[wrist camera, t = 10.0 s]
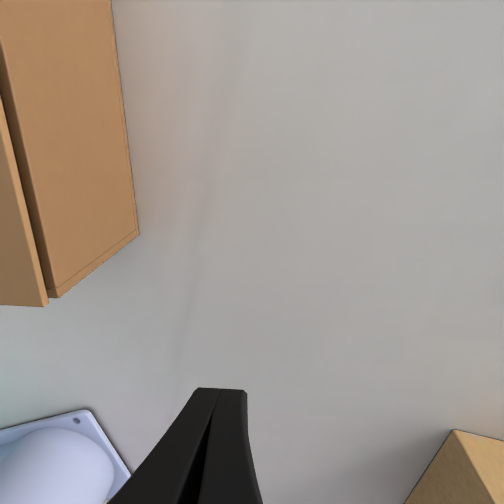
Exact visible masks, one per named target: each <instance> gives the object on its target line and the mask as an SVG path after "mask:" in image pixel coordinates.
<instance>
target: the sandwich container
mask: <svg viewBox="0 0 504 504" xmlns="http://www.w3.org/2000/svg"><path fill="white" fill-rule="evenodd" d="M404 504H504V442H503V441H499V440H495V439H491V438H487V437H483V436H479V435H475V434H470V433H466V432H462V431H458V430H452V432H451V433H450V435H449V436H448V438H447V439H446V441H445V442H444V444H443V445H442V447H441V449H440V450H439V452H438V453H437V455H436V456H435V458H434V459H433V461H432V462H431V464H430V465H429V467H428V468H427V470H426V471H425V473H424V474H423V476H422V477H421V479H420V480H419V482H418V483H417V485H416V486H415V488H414V489H413V491H412V492H411V494H410V496H409V497H408V499H407V500H406V502H405V503H404Z"/></svg>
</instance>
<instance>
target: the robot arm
mask: <svg viewBox="0 0 504 504" xmlns="http://www.w3.org/2000/svg"><path fill="white" fill-rule="evenodd" d="M108 499H110V501H109V502H108V503H107V504H263V502H262V498H261V494H260V490H259V486H258V482H257V478H256V473H255V469H254V464H253V459H252V454H251V449H250V443H249V437H248V414H247V393H246V392H245V391H244V390H236V389H218V388H200V387H198V388H197V389H196V390H195V391H194V392H193V394H192V396H191V397H190V399H189V400H188V402H187V403H186V405H185V406H184V408H183V409H182V411H181V412H180V413H179V415H178V416H177V418H176V419H175V421H174V422H173V423H172V425H171V426H170V428H169V429H168V430H167V432H166V433H165V434H164V435H163V437H162V438H161V439H160V441H159V442H158V443H157V445H156V446H155V447H154V448H153V450H152V451H151V452H150V454H149V455H148V456H147V457H146V459H145V460H144V461H143V462H142V463H141V465H140V466H139V467H138V468H137V469H136V471H135V472H134V473H133V474H132V475H131V474H130V472H129V471H128V469H127V468H126V466H125V465H124V463H123V462H122V460H121V458H120V457H119V455H118V454H117V452H116V451H115V449H114V448H113V446H112V445H111V443H110V441H109V440H108V438H107V437H106V435H105V434H104V432H103V431H102V429H101V427H100V426H99V424H98V423H97V421H96V420H95V418H94V417H93V415H92V414H91V412H90V411H88V410H85V409H83V410H78V411H74V412H70V413H66V414H62V415H58V416H54V417H50V418H46V419H42V420H38V421H34V422H30V423H26V424H22V425H18V426H14V427H10V428H6V429H2V430H0V504H103V503H104V501H105V500H108Z"/></svg>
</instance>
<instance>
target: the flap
mask: <svg viewBox="0 0 504 504" xmlns="http://www.w3.org/2000/svg"><path fill="white" fill-rule="evenodd" d="M48 303H49V301H48V297H47V292H46V288H45V284H44V280H43V275H42V271H41V267H40V262H39V258H38V254H37V250H36V245H35V241H34V237H33V233H32V228H31V224H30V220H29V216H28V211H27V207H26V203H25V198H24V194H23V190H22V186H21V181H20V177H19V173H18V169H17V164H16V160H15V156H14V151H13V147H12V143H11V139H10V134H9V130H8V126H7V122H6V117H5V113H4V109H3V104H2V100H1V96H0V305H13V306H33V307H44V306H46V305H47V304H48Z"/></svg>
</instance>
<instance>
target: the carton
mask: <svg viewBox="0 0 504 504" xmlns="http://www.w3.org/2000/svg"><path fill="white" fill-rule="evenodd" d="M0 96H1V100H2V104H3V109H4V113H5V117H6V122H7V126H8V130H9V134H10V139H11V143H12V147H13V151H14V156H15V160H16V164H17V169H18V173H19V177H20V181H21V186H22V190H23V194H24V198H25V203H26V207H27V211H28V216H29V220H30V224H31V228H32V233H33V237H34V241H35V245H36V250H37V254H38V258H39V262H40V267H41V271H42V275H43V280H44V284H45V288H46V292H47V297H48V298H60V297H61V296H62V295H63V294H65V293H66V292H67V291H69V290H70V289H71V288H72V287H74V286H75V285H76V284H77V283H79V282H80V281H81V280H82V279H84V278H85V277H86V276H87V275H89V274H90V273H91V272H92V271H94V270H95V269H96V268H97V267H99V266H100V265H101V264H102V263H104V262H105V261H106V260H108V259H109V258H110V257H111V256H113V255H114V254H115V253H116V252H118V251H119V250H120V249H121V248H123V247H124V246H125V245H126V244H128V243H129V242H130V241H131V240H133V239H134V238H135V237H136V236H138V235H139V229H138V220H137V212H136V204H135V196H134V188H133V180H132V172H131V164H130V155H129V147H128V139H127V131H126V123H125V115H124V107H123V99H122V90H121V82H120V74H119V66H118V58H117V50H116V42H115V34H114V25H113V17H112V9H111V1H110V0H0Z"/></svg>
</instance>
